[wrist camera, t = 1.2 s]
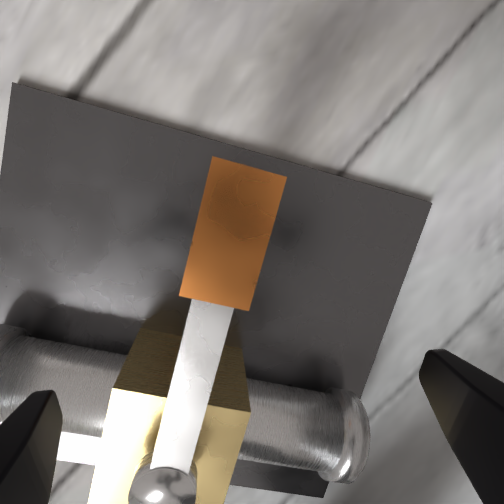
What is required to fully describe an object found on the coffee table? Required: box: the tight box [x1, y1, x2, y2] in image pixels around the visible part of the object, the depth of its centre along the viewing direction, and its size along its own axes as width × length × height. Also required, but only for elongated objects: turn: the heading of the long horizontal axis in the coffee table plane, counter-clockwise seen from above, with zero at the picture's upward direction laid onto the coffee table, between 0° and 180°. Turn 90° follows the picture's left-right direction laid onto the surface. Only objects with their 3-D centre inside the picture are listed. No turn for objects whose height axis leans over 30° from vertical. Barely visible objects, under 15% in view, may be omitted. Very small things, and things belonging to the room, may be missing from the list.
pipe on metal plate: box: [0, 82, 432, 504], centre depth 20 cm, size 24×22×7 cm
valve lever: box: [128, 156, 287, 504], centre depth 15 cm, size 15×3×2 cm, turn 165°
